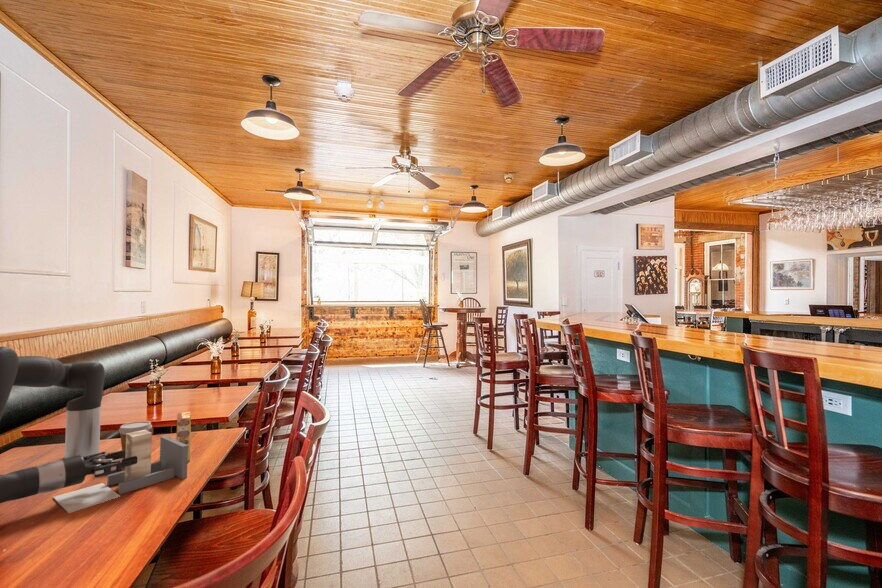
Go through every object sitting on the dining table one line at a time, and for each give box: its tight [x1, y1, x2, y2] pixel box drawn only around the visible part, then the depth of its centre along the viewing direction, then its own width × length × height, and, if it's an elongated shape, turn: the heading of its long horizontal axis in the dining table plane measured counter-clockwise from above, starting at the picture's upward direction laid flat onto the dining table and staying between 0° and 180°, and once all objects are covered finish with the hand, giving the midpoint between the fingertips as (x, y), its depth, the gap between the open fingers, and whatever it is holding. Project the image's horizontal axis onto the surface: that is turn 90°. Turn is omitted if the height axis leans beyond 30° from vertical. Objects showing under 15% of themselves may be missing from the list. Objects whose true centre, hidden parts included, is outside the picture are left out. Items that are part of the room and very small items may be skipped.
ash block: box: [124, 430, 153, 481], centre depth 124 cm, size 5×5×15 cm
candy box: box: [175, 411, 192, 462], centre depth 144 cm, size 9×4×15 cm, turn 33°
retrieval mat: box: [52, 482, 121, 514], centre depth 114 cm, size 14×11×1 cm
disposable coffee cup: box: [118, 420, 153, 459], centre depth 143 cm, size 10×10×12 cm
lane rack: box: [106, 435, 188, 495], centre depth 126 cm, size 16×16×10 cm
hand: (131, 456), depth 123 cm, fingers open, 8 cm apart
